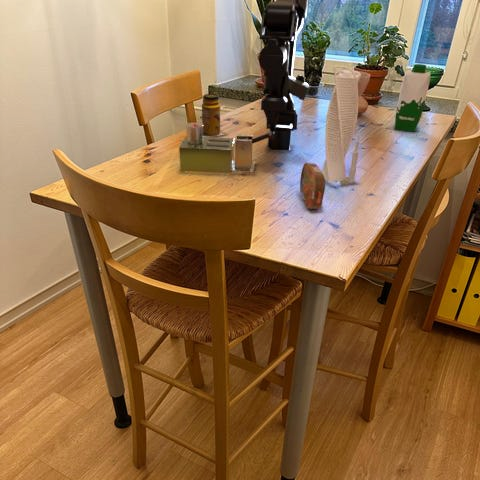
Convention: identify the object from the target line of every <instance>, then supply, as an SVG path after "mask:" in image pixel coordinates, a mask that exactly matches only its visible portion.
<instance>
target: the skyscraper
mask: <svg viewBox="0 0 480 480" xmlns="http://www.w3.org/2000/svg"><path fill="white" fill-rule="evenodd" d="M332 68H333V74H334V82H335V83H334V87H333V90H332V93H331V97H330V101H329V104H328V109H327V114H326V121H325V135H324V142H325V143H324V145H325V148H324V149H325V161H324V164H323V166H322V169H321V170H320V171H321V172H322V174H323V175H324V178H325V181H327V182H328V183H329V184H330V183H337V182H339V185H340V187H344V186H351V185H356V181H355V178H356V172H357V164H358V163H357V162H358V157H359V151H358V150H359V144H360V141H359V140H360V133H358V134H357V139H356V141H355V147H354V151H352V155H351V156H352V157H351V162H350V167H349V171H348V176H347V171H346V169H347V168H346V161H345V160H346V157H347V154H348V152H349V149H350V147H351V144H352V141H353V138H354V135H355V132H356V128H357V122H358V116H359V115H358V81H359V79H360V77H361V73H360V72H361V71H358V70H354V69H353V68H351V67H349V66H346V65H343V64H335V65H334V66H332ZM337 68H341V69H340V70H339V71H338V72H339V75H337ZM341 72H343V73H341ZM355 73H357V74H359V75H356V74H355Z"/></svg>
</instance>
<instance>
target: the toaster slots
mask: <svg viewBox="0 0 480 480" xmlns="http://www.w3.org/2000/svg"><path fill="white" fill-rule="evenodd" d="M208 141H224V142H230V140H215V139H209V140H208ZM206 146H222V147H229V145H214V144H207V145H206Z"/></svg>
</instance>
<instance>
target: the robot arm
mask: <svg viewBox="0 0 480 480" xmlns="http://www.w3.org/2000/svg"><path fill="white" fill-rule="evenodd" d="M307 14H308V0H274V1H269V2H268V3H267V4H266V6H265V9H263V11H262V17H261V22H260V23H261V24H260V30H259V40H261V41H262V40H263V41H264V40H265V45H264V47H263V48H261V50H260V52H259V55H258V63H259V67H260V68H261V69H262V70H263V71H264V79H263V91H262V92H263V93H262V96H263V97H261V101H260V110H261V111H263V112H264V115H265V116H264V117H265V119H266V130H270V131H272V132H274V139H271V140H270V138H267V148H268V150H270V151H290V150H291V138H292V132H294V131H296V130H297V129H298V114H297V109H295V101H294V99H293V96H294V97H296V98H298V100H301V101H305V99H306V96H307V94H308V93H309V90H310V84H308V83H307V82H305V76H304V75H302V74H298V75H297V76H296V77H294V76H293V71H294V62H295V53H296V43H297V37H298V35H299V34H300V32H301V30H302V29H303V28H304V22H305V21H304V20H306V19H307Z"/></svg>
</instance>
